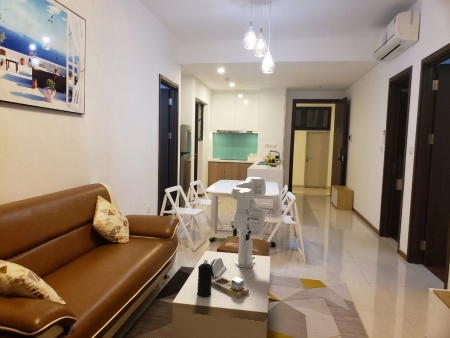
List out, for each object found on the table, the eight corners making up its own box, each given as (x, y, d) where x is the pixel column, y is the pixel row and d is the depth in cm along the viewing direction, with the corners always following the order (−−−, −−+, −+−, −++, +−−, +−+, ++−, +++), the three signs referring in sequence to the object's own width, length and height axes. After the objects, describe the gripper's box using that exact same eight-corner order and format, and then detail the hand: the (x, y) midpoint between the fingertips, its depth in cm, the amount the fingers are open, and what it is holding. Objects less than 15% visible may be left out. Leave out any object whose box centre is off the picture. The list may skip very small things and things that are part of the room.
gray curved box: (218, 279, 194) (213, 264, 194) (211, 280, 196) (207, 265, 196) (226, 269, 210) (222, 255, 210) (220, 270, 211) (216, 256, 212)
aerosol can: (212, 297, 173) (214, 262, 170) (198, 298, 170) (200, 263, 168) (209, 289, 180) (211, 257, 178) (195, 291, 178) (197, 257, 176)
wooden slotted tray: (220, 280, 193) (221, 276, 193) (248, 293, 179) (248, 288, 178) (210, 284, 186) (210, 280, 186) (238, 298, 172) (239, 294, 172)
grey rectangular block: (236, 289, 182) (237, 276, 181) (243, 293, 179) (243, 279, 178) (231, 292, 178) (231, 279, 177) (237, 296, 175) (238, 282, 174)
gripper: (257, 212, 184) (255, 240, 186) (235, 207, 196) (234, 233, 198) (250, 214, 179) (248, 243, 181) (227, 209, 190) (226, 235, 192)
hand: (241, 238), depth 189 cm, fingers open, 9 cm apart
